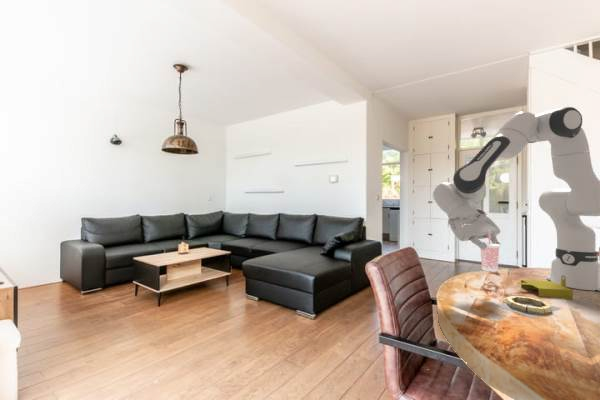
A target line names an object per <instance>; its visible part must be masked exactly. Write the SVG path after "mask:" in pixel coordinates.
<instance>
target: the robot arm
mask: <svg viewBox="0 0 600 400" xmlns="http://www.w3.org/2000/svg"><path fill="white" fill-rule="evenodd" d="M582 126H583V115H582V114H581V112H580V111H579V110H578V109H577V108H575V107H572V106H565V107H559V108H556V109H552V110H547V111H544V112H541V113H538V114H536V115H535V114H534V113H532V112H529V111H519V112H517V113H515V114H514V115H512V116H511V117H510V118H509V119H508V120H506V122H505V123H504V124H502V126H501V127H500V128H499V129H498V131H497V132H496V133H495V134H494V135H493V136H492V138H491V139H490V140H489V141H487V143H486V144H485V145H484V146H483V147H482V148H481V149H480V151H479V152H478V153H477V154H476V155H475V156H474V157H473V158H472V159H471V160H470V161H469V162H468V163H466V164H464V165H462V166H461V167H459V168H458V169H457V170H456V171H455V172H454V174H453V176H452V180H453V182H441V183H440V184H439V185H437V186H436V187H435V188H434V191H433V193H432V197H433V200H434V201H435V204H437V206H438V207H439V208H440V209H441V211H442V212H444V213H445V214H446V215H447V217H448V225H449V226H450V229H451V232H452V233H453V235H455V237H456V238H457V239H458V240H459V241H461V242H467V241H471V243H473V244H475V246H477V247H479V249H480V250H481V249H485V248H486V247H487V245H486V244H485V243H486V242H483V241H481V240H482V239H488V240H489V230H490V243H494V244H499V245H500V246H501V242H499V240H498V238H497V236H498V235H499V234H500V233H501V229H500V228H499V226H498V225H497V224H496V223H495V222H494V221H493V220H492V219H491V218H490V217H489V216H487V215H488V214H487V212H486V211H484V210H481V209H478V208H476V207H473V205H475V204H478V203H480V202H482V201H483V200H484V199H485V197H486V196H487V186H486V178H487V176H486V175H487V173H488V171H489V170H490V168H491V167H492V166H493V164H494V163H496V161H497V160H498V159H499V158H502V159H512V158H516V156H517V155H519V154H520V153H521V152H522V151H524V149H525V148H526V147H527V145H528V144H533V143H537V142H539V143H541V142H546V141H548V142H549V144H550V154H551V161H552V163H551V164H552V169H553V170H552V171H553V175H554V176H555V177H556V178H557V179H560V180H561V181H564V182H565V183H566V185H568V186H569V187H567V188H554V189H550V190H546V191H543V192H542V193H541V194H540V196H539V197H538V206H539V208H540V209H541V210H542V211H543V212H544V213H545V214H547V215H548V216H549V217H550V219H551V221H552V222H553V224H554V227H555V230H556V242H557V243H556V248H555V251H554V253H555V257H556V258H555V259H553V260H552V261H551V265H550V266H551V267H550V275H548V276H546V280H547V281H552V282H555V283H557V284H560V285H561V276H562V275H564V276H565V278H566V287H567V288H569V289H577V290H582V291H583V290H584V291H595V290H598V291H597V292H600V263H599V257H600V251H598V250H596V242H597V241H596V236H597V235H596V232H595V231H594V229H593V228H592V227H590V226H588V225H586V224H585V223H584V221H582V219H581V217H580V216H582V217H600V180H599V178H598V177H597V175H596V173H595V171H594V169H593V165H592V164H593V163H592V160H591V159H592V158H591V152H590V145H589V141H588V139H587V136H586V133H585V130H584V129H583V128H582ZM563 280H564V277H563Z"/></svg>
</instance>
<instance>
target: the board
mask: <svg viewBox="0 0 600 400" xmlns="http://www.w3.org/2000/svg"><path fill="white" fill-rule="evenodd" d="M516 303H519V304H523V305H526V306H533V307H541V306H537V305H534V304H530V303H523V302H516ZM551 306H552V312H555V311H557V310H561V309H562V308H561V307H557V306H554V305H551ZM496 307H499V308H501V309H504V310H507V311H511V312H513V313H517V314H520V315H522V316H525V317H528V318H532V319H534V318H537V317H540V316H543V315H544V314H536V313H528V312H524V311H521V310H518V309H514V308H512V307H510V306H509V305H508V304H507V303H506V302H505V303H501V304H498V305H496Z"/></svg>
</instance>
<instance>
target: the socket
mask: <svg viewBox="0 0 600 400" xmlns="http://www.w3.org/2000/svg"><path fill="white" fill-rule="evenodd" d="M505 301H506V302H505V303H507V304H508V305H509V306H510V307H512V308H514V309H518V310H521V311H524V312H528V313H536V314H543V315H546V314H547V315H548V314H550V313H553V311H552V306H553V305H552V304H550V303H548V302H547V301H545V300H541V299H538V298H534V297H529V296H523V295H522V296H520V295H519V296H518V295H512V296H508V297H506V299H505ZM516 302H523V303H530V304H534V305H537V306H541V307H533V306H526V305H523V304H519V303H516Z"/></svg>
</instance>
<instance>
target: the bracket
mask: <svg viewBox="0 0 600 400" xmlns="http://www.w3.org/2000/svg"><path fill="white" fill-rule="evenodd" d="M563 277H564V280H563ZM516 284H517V285H520V287H521V288H523V289H527V290H531V291H538V297H551V298H552V297H553V298H554V297H555V298H556V297H557V298H563V299H567V300H570V301H573V300H574V289H573V288H570V287H566V278H565V276H564V275H562V276H561V285H560V284H557V283H555V282H552V281H550V280H536V279H535V280H534V279H533V280H532V279H520V282H516Z"/></svg>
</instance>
